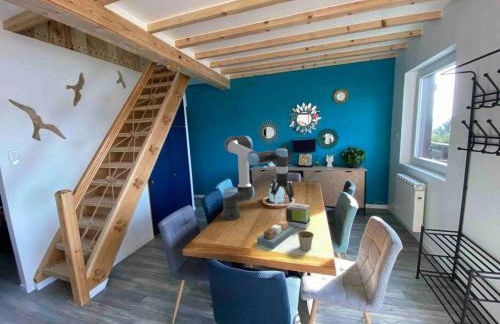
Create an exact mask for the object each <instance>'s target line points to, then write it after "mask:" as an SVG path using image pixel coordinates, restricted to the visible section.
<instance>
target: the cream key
mask: <svg viewBox="0 0 500 324" xmlns="http://www.w3.org/2000/svg"><path fill="white" fill-rule="evenodd" d="M270 229H271V230H274V231H275V234H277V235H278V234H279V233H281V232H282V231H281V226H279V225H277V224H273V225H272V226H270Z"/></svg>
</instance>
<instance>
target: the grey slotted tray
mask: <svg viewBox="0 0 500 324" xmlns="http://www.w3.org/2000/svg"><path fill="white" fill-rule="evenodd" d="M276 225H278V223H277V224H276ZM281 231H282V232H281V233H279V234H278V235H277V234H275V237H273V238H272V239H271V240H270V239H267V238H264V232H263V233H261V234H260V235H258V236H257V237H256V244H258V245H262V246H264V247H266V248H269V249H272V250H273V249H275V248H277V247H278V246H279V245H280V244H282V243H283V242H284V241H286V240H287V239H288V238H290V237H291V236H293V234H295V227H293V226H288V228H286V229H285V230H282V229H281Z"/></svg>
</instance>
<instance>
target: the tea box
mask: <svg viewBox="0 0 500 324" xmlns="http://www.w3.org/2000/svg"><path fill="white" fill-rule="evenodd" d="M285 218H286V220H285V221H286V222H288V226H292V227H294V228H299V229H303V230H304V229H305V230H307V228H309V226H310V225H311V205H310V204H305V203H304V204H303V203H296V202H291V207H289V208H288V204H287V205H286V206H285Z"/></svg>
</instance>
